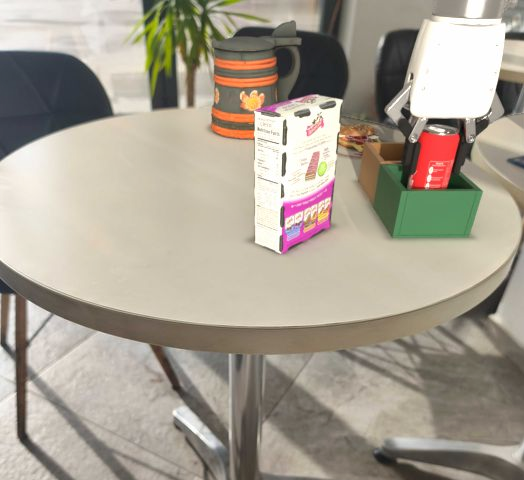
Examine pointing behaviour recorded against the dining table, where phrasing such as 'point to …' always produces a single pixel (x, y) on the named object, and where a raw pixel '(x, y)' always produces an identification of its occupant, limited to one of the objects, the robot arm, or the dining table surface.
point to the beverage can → (435, 157)
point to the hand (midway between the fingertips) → (430, 169)
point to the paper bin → (377, 163)
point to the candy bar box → (294, 169)
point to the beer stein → (250, 79)
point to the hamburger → (357, 136)
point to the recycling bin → (425, 205)
